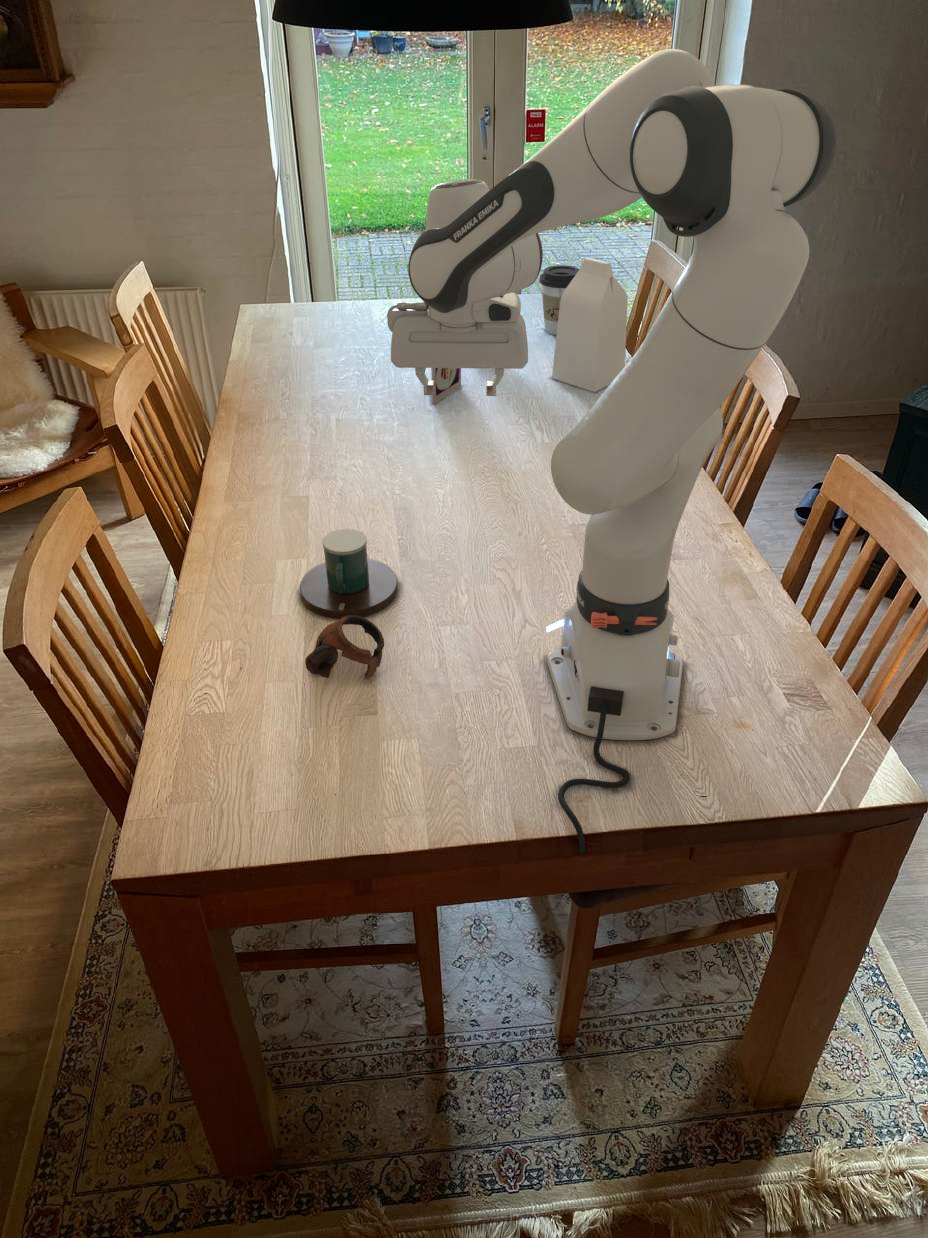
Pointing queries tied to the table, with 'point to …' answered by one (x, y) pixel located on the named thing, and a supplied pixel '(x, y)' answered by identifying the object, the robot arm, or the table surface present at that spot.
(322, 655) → the brown strap loop
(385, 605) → the turntable
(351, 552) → the green lidded mug
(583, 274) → the milk
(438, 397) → the greeting card
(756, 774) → the table surface
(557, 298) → the coffee cup
